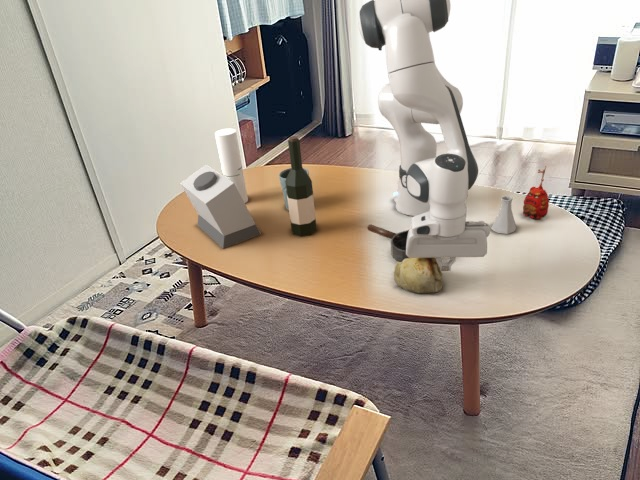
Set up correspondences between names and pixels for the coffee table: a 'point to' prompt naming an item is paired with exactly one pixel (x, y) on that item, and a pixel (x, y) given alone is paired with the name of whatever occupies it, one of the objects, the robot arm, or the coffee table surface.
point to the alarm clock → (219, 207)
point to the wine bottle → (299, 193)
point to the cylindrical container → (231, 159)
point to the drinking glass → (283, 177)
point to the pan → (399, 246)
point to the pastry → (419, 275)
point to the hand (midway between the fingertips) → (444, 270)
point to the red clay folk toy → (536, 201)
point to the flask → (505, 217)
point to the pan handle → (382, 231)
